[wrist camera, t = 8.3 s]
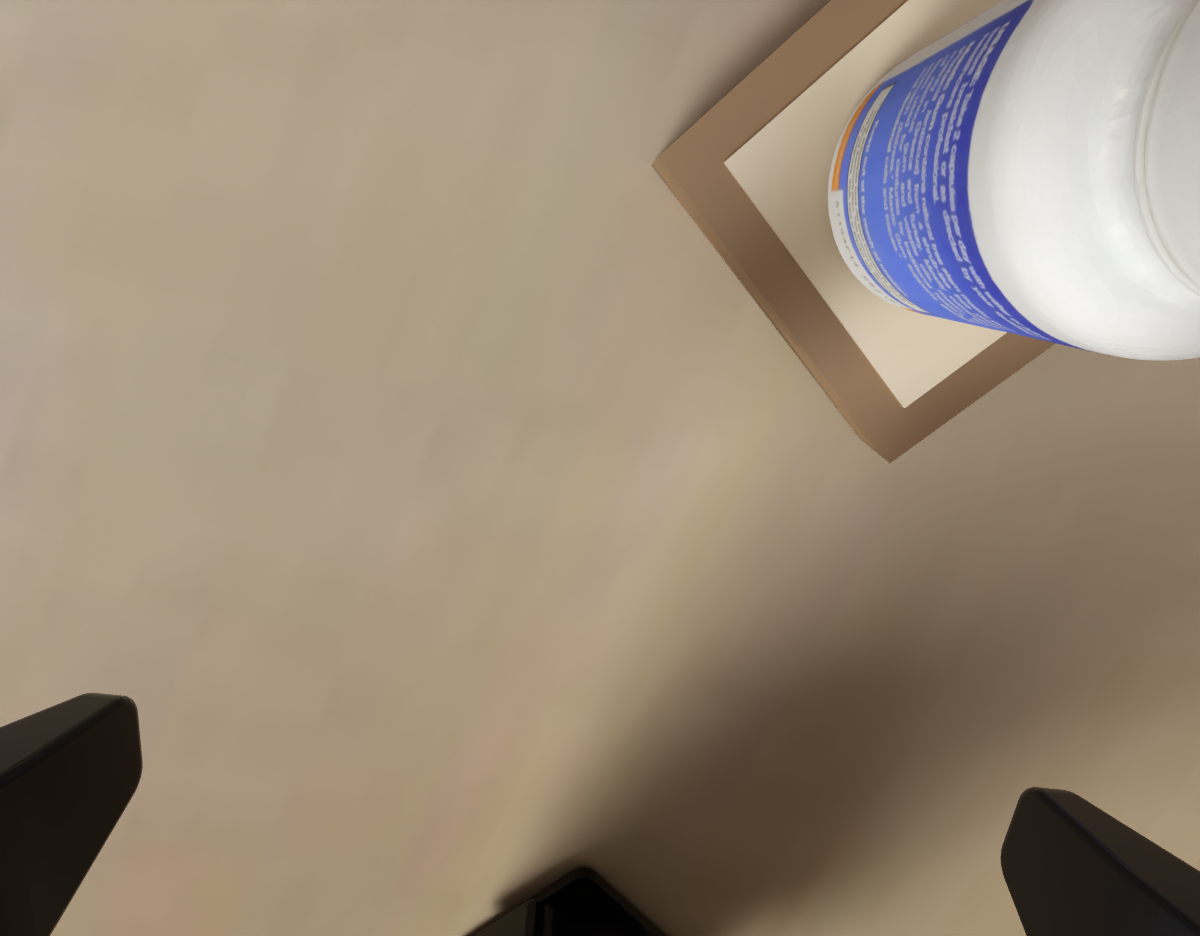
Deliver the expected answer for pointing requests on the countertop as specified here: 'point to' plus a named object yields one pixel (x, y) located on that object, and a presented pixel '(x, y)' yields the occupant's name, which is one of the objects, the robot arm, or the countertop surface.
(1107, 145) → the pill bottle
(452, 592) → the countertop surface
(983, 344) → the walnut picture frame
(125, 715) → the robot arm
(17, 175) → the countertop surface
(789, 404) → the countertop surface
